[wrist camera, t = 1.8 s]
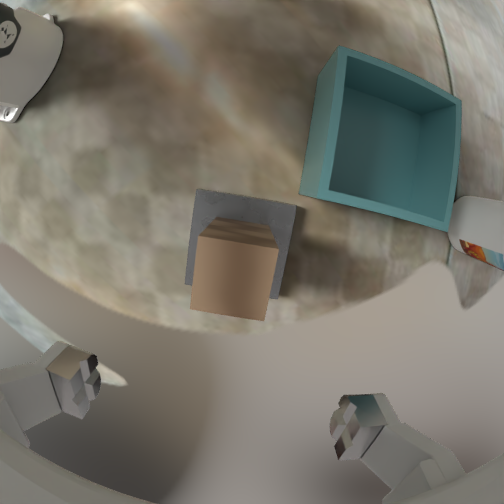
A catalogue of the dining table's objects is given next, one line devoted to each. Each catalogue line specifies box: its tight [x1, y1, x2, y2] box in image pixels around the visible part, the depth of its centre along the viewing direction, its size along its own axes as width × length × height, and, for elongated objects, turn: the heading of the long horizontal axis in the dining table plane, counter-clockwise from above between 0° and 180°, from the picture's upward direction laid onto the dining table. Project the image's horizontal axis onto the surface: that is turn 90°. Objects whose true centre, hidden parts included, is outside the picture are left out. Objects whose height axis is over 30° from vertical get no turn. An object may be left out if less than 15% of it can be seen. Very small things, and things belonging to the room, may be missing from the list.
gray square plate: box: [185, 189, 297, 299], centre depth 27 cm, size 10×10×6 cm
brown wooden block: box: [190, 217, 279, 321], centre depth 23 cm, size 5×5×10 cm
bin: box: [299, 46, 462, 232], centre depth 23 cm, size 14×14×8 cm
